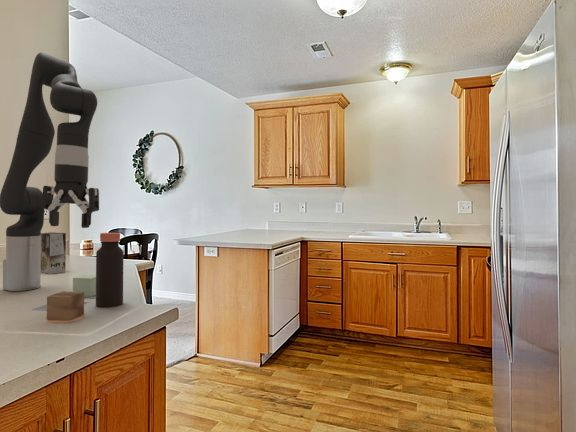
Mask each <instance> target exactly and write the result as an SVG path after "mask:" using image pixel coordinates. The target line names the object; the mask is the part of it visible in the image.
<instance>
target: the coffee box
mask: <svg viewBox="0 0 576 432" xmlns="http://www.w3.org/2000/svg"><path fill="white" fill-rule="evenodd" d="M66 235H67V233H66V232H55V231H54V232H53V231H51V232H41V273H42V272H43V274H49V275H53V274H60V273H61V272H62V273H66V261H67V260H66V249H67V248H66V246H67V243H66V242H67V241H66V240H67V236H66Z"/></svg>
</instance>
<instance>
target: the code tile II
mask: <svg viewBox="0 0 576 432" xmlns="http://www.w3.org/2000/svg"><path fill="white" fill-rule="evenodd" d="M84 300H96V295H94V296H92V297H84Z"/></svg>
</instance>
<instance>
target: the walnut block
mask: <svg viewBox="0 0 576 432" xmlns="http://www.w3.org/2000/svg"><path fill="white" fill-rule="evenodd" d="M84 302H85V299H84V292H73V291H67V290H65V291H59V292H56V293H53V294H50V295H47V297H46V304H47V311H46V318H47V320H61V321H70V320H72V319H75V318H77V317H79V316H81V315H83V314H85V305H84Z"/></svg>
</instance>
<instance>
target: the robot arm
mask: <svg viewBox="0 0 576 432" xmlns="http://www.w3.org/2000/svg"><path fill="white" fill-rule="evenodd" d="M77 75H78V74H77V70H76V69H75V67H74V65H72V64H71V63H69V62H68V61H66V60H63V59H60V58H58V57H55V56H52V55H50V54H48V53H46V52H42V51H41V52H38V53H37V54H36V56H35V57H34V61H33V64H32V68H31V75H30V79H29V87H28V90H27V91H28V92H27V98H26V103H25V107H24V109H23V113H22V116H21V117H22V118H21V121H20V125H19V129H18V132H17V137H16V143H15V146H14V147H15V148H14V151H13V154H12V159H11V162H10V166H9V169H8V172H7V174H6V177H5V179H4V182H3V185H2V188H1V191H0V209H1V211H2V212H3V213H4V214H6V215H11V216H18V215H19V219H18V221H17V222H15V223H14V224H12V225H9V226H7V228H6V229H5V259H3V260H2V290H4V291H9V292H21V291H30V290H37V289H39V288H41V275H42V274H41V273H42V272H41V233H42V229H43V228H44V227H43V226H44V221H45V210H47V211H48V213H49V215H48V222H49V224H50V227H58V226H59V224H60V211H59V210H60V209H61V207H63V206H64V205H65V204H75V205H76V206H77V207H78V208H79V209H80V210H81V212H82V213H81V228H82V229H87V228H89V227H90V226H91V224H92V214H93V213H95V212H98V211H99V210H100V191H99V188H97V187H89V188H88V186H87V184H88V182H89V162H90V161H89V158H90V157H89V134H90V128H91V124H92V121H93V118H94V115H95V113H96V111H97V107H98V99H97V96H96V94H95V93H94V92H93V91H92V90H90V89H87V88H83V87H82V86H81V85H80V84H79V81H78V76H77ZM44 86H46V87H49V88H51V90H50V92H49V93H50V94H49V102H50V105H51V107H52V108H53V110H55V111H57V112H59V113H62V114H69V115H73V116H78V117H80V118H79V120H78V121H73V122H72V121H71V122H69V121H68V122H61V123H59V124H58V125H57V128H56V129H57V130H56V131H55V126H54V124H53V121H52V119H51V117H50V114H49V112H48V109H47V107H46V104H45V101H44V100H45V99H44V95H43V87H44ZM55 132H56V133H55ZM55 134H56V147H55V153H54V156H55V157H54V181H55V186H53V185H52V186H51V185H44V186H43V187H42V190H41V189H40V188H38V187H34V186H28V182H29V179H30V177H31V175H32V174H33V172H34V171H35V169H36V168H37V167H38V166H39V165H40V164H41V163H42V162H43V161H44V160H45V158H47V157H48V155H49V154H50V152H51V150H52V145H53V142H54V137H55ZM54 194H56V195H55V196H54ZM86 196H88V199H87V197H86Z"/></svg>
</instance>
